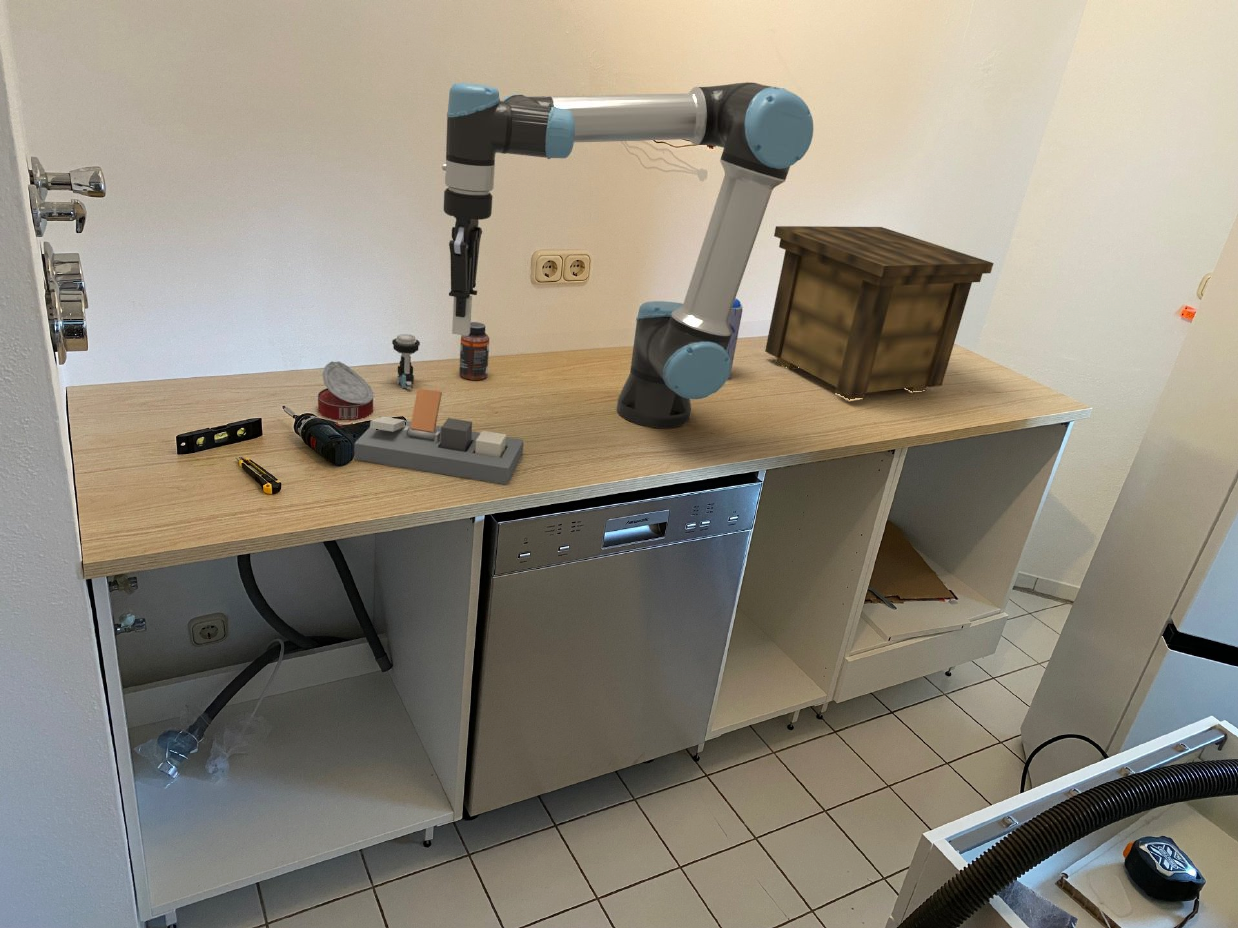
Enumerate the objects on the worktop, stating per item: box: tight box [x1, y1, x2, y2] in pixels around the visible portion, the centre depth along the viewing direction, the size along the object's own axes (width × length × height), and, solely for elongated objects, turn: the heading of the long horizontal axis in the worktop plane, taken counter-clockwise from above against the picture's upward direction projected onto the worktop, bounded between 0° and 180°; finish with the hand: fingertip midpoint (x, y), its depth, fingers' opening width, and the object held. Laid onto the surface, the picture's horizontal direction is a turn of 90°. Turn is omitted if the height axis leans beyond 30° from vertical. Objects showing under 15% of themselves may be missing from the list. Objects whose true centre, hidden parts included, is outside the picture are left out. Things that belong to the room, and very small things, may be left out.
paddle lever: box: [408, 387, 443, 439], centre depth 155 cm, size 4×1×8 cm, turn 84°
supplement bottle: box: [458, 321, 490, 381], centre depth 190 cm, size 6×6×11 cm
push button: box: [391, 333, 421, 390], centre depth 181 cm, size 7×5×10 cm
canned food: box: [317, 360, 374, 422], centre depth 168 cm, size 11×10×10 cm
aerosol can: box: [726, 298, 743, 381], centre depth 208 cm, size 8×8×20 cm
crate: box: [764, 225, 994, 400], centre depth 216 cm, size 35×35×33 cm
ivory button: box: [475, 430, 507, 458], centre depth 154 cm, size 4×4×4 cm
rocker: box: [369, 416, 406, 432], centre depth 155 cm, size 4×6×1 cm, turn 173°
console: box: [353, 416, 525, 485], centre depth 155 cm, size 26×12×4 cm, turn 83°
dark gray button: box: [440, 417, 473, 452], centre depth 154 cm, size 4×4×4 cm
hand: (461, 333), depth 153 cm, fingers closed
